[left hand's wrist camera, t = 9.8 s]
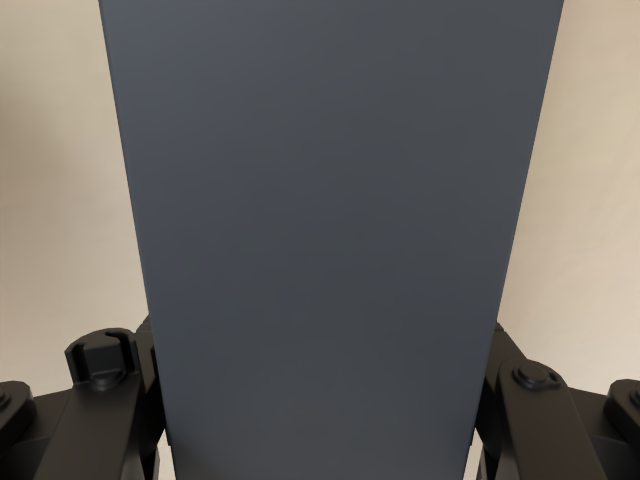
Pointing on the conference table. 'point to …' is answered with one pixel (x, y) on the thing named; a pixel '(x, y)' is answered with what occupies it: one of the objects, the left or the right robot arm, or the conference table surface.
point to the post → (325, 220)
